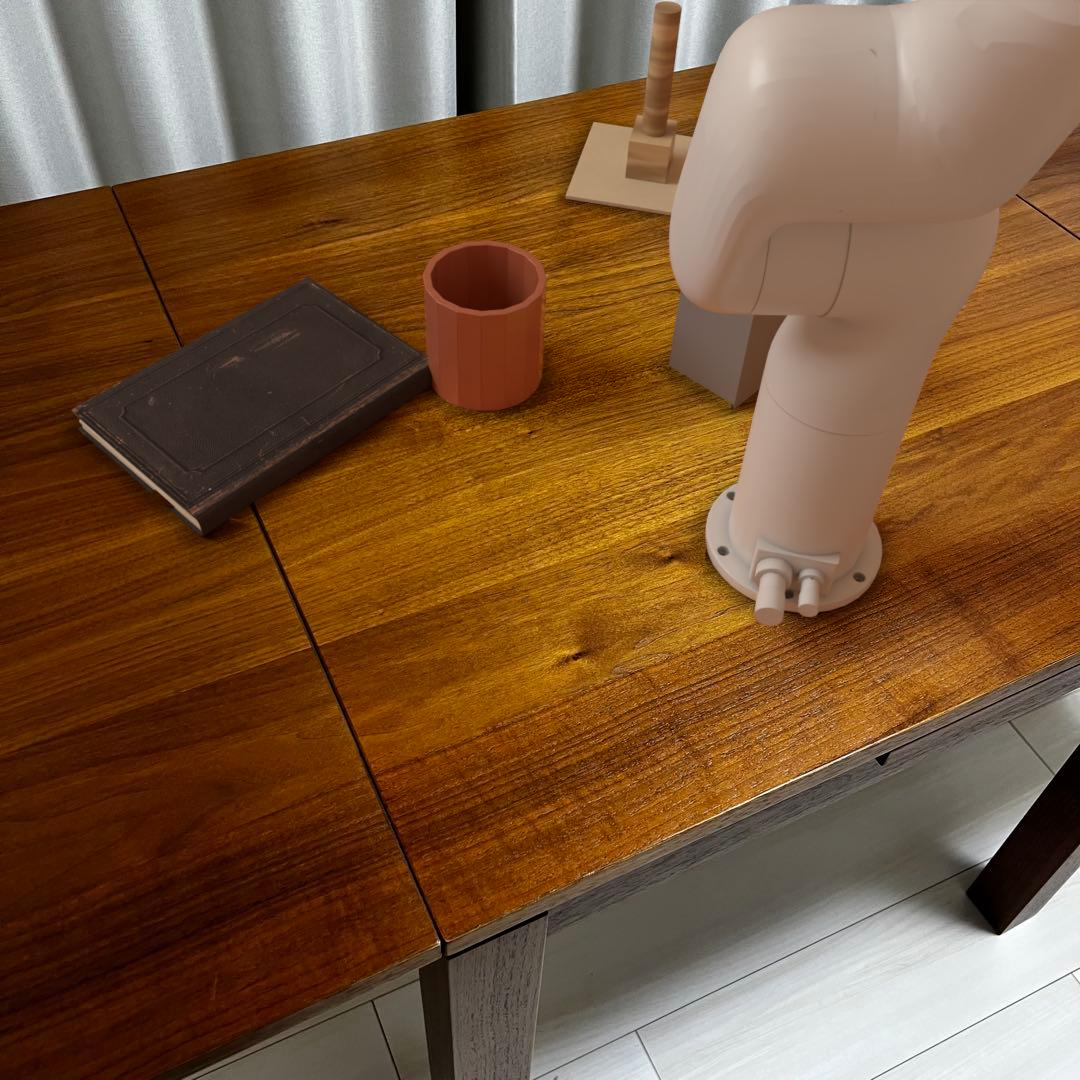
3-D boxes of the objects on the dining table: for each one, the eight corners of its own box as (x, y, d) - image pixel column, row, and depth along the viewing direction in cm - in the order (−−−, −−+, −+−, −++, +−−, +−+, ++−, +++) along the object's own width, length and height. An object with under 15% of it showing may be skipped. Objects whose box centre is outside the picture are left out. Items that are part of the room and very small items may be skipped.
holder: (526, 425, 94) (530, 324, 86) (414, 404, 95) (408, 303, 87) (551, 351, 100) (557, 251, 92) (445, 333, 101) (442, 232, 93)
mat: (709, 222, 113) (710, 218, 113) (565, 198, 115) (565, 195, 114) (727, 145, 122) (728, 142, 122) (593, 125, 124) (593, 121, 123)
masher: (665, 184, 116) (686, 22, 104) (625, 177, 117) (641, 16, 105) (673, 157, 119) (694, -3, 107) (633, 151, 120) (650, -9, 108)
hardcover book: (79, 430, 92) (70, 408, 90) (311, 297, 103) (308, 276, 101) (205, 541, 85) (198, 519, 83) (439, 385, 96) (438, 363, 94)
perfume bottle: (781, 371, 99) (829, 179, 85) (733, 410, 96) (774, 217, 82) (717, 333, 102) (753, 143, 88) (667, 370, 99) (697, 177, 85)
